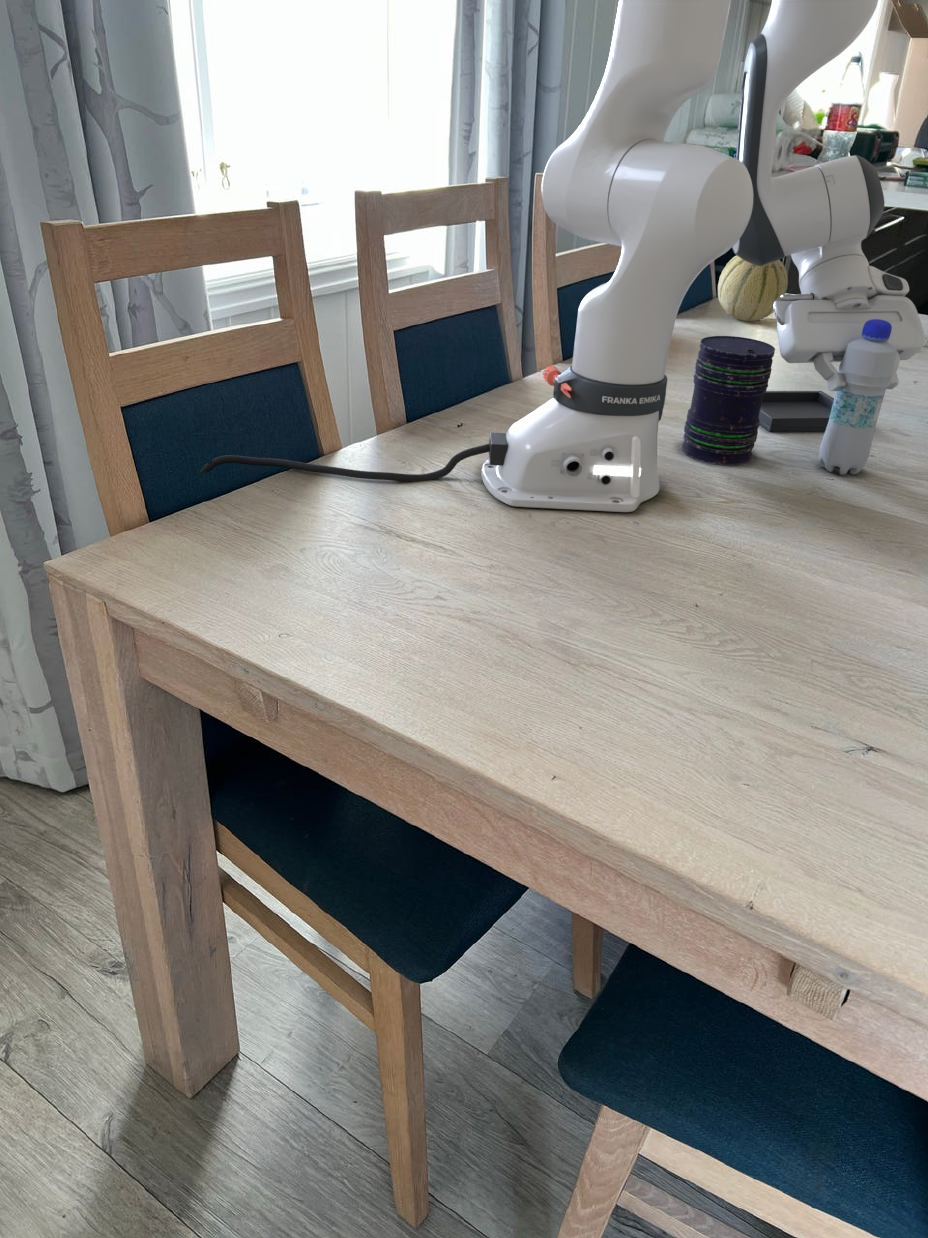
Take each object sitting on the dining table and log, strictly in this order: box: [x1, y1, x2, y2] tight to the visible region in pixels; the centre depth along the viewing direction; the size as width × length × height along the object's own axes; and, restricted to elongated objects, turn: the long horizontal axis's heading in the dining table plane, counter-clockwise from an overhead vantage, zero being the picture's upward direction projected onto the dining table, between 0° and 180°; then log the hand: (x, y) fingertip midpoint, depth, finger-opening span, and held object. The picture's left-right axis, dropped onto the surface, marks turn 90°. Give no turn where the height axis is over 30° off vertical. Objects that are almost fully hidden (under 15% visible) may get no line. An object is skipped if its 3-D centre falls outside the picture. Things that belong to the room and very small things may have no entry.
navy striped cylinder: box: [681, 335, 776, 466], centre depth 128 cm, size 10×10×15 cm
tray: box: [759, 390, 835, 433], centre depth 147 cm, size 16×14×2 cm
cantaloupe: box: [717, 254, 789, 322], centre depth 204 cm, size 15×15×15 cm
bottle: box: [818, 319, 897, 476], centre depth 123 cm, size 7×7×20 cm
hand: (864, 388), depth 122 cm, fingers closed on bottle, 6 cm apart
